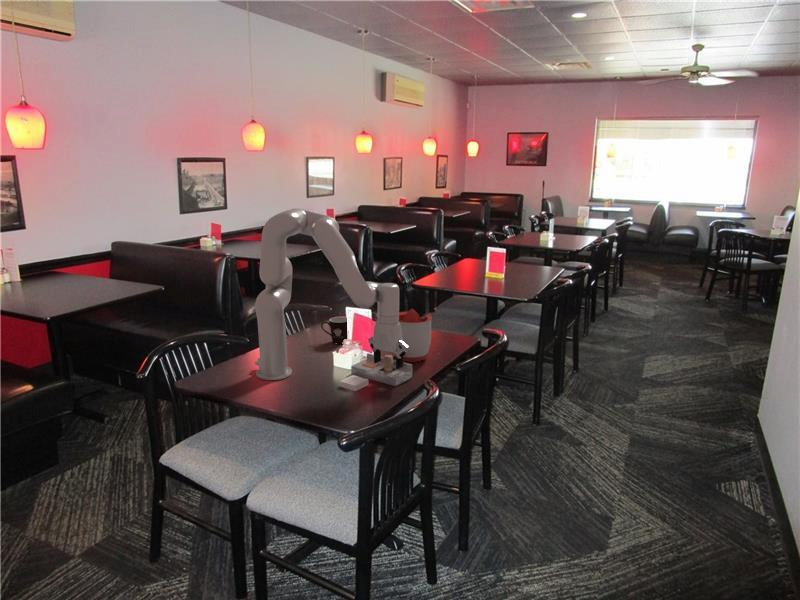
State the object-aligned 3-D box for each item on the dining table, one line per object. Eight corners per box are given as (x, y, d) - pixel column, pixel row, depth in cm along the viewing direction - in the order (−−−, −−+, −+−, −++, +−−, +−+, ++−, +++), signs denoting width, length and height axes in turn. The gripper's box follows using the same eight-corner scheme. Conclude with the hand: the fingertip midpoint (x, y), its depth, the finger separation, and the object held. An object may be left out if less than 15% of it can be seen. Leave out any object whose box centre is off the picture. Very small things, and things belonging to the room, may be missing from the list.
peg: (381, 377, 200) (381, 356, 198) (387, 375, 203) (387, 354, 201) (388, 379, 198) (389, 358, 196) (394, 377, 201) (394, 356, 199)
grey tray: (351, 373, 204) (351, 360, 203) (368, 365, 212) (368, 353, 211) (395, 386, 193) (396, 372, 192) (412, 377, 201) (412, 364, 199)
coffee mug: (354, 341, 240) (353, 318, 238) (341, 346, 233) (341, 323, 231) (332, 336, 246) (332, 314, 244) (320, 341, 239) (319, 319, 237)
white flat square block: (339, 386, 192) (339, 381, 192) (352, 380, 198) (352, 374, 197) (355, 391, 188) (355, 385, 188) (368, 384, 194) (368, 379, 193)
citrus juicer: (440, 355, 224) (442, 306, 220) (417, 367, 210) (418, 316, 206) (408, 347, 233) (408, 301, 228) (383, 359, 219) (383, 310, 214)
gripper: (362, 316, 197) (362, 362, 201) (402, 325, 187) (402, 373, 192) (375, 312, 203) (375, 357, 207) (414, 320, 193) (414, 367, 198)
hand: (388, 364), depth 199 cm, fingers open, 9 cm apart
